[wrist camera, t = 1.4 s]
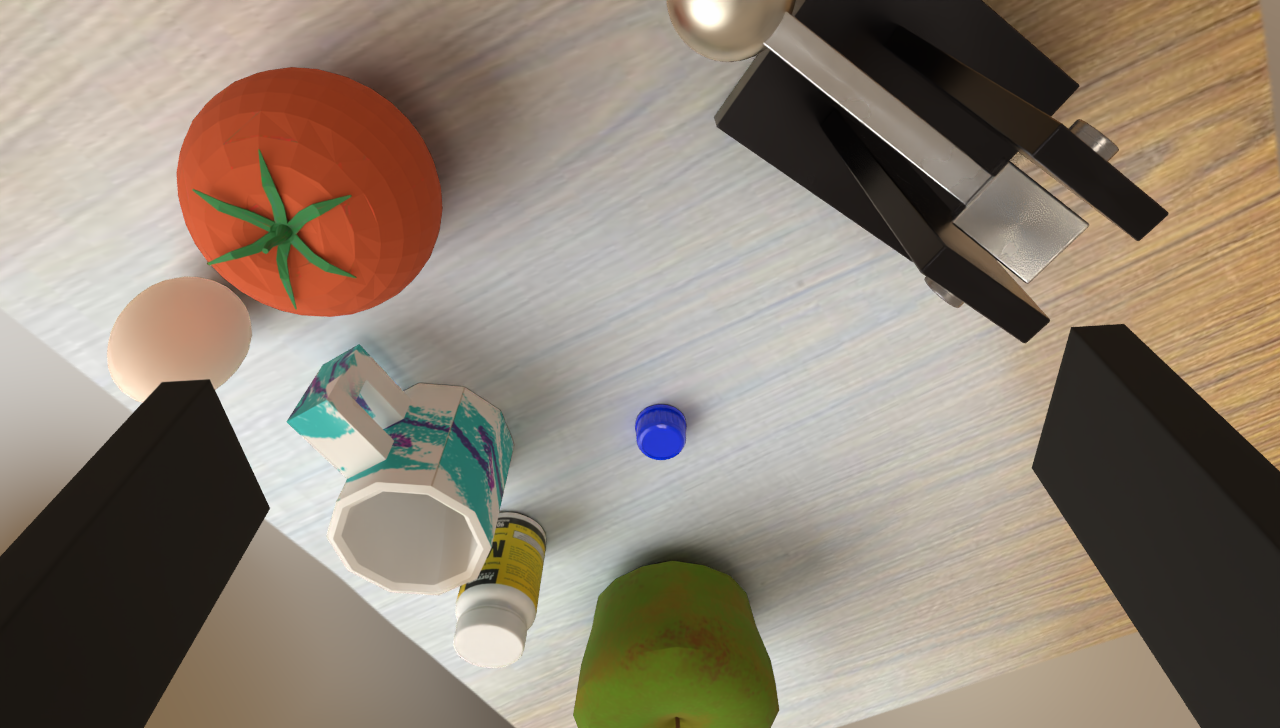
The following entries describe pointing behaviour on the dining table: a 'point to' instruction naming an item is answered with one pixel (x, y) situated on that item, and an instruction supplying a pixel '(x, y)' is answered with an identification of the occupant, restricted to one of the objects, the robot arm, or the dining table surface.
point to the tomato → (309, 192)
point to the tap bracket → (953, 104)
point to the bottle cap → (661, 431)
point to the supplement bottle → (502, 595)
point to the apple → (675, 654)
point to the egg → (178, 336)
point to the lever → (893, 129)
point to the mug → (407, 474)
